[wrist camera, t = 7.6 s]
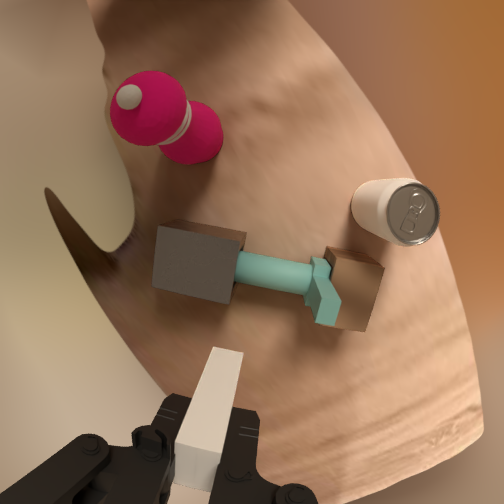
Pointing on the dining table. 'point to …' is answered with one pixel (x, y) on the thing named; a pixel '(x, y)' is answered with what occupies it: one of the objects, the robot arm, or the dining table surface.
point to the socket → (354, 286)
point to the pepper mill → (165, 118)
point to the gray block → (197, 260)
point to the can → (397, 210)
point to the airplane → (293, 281)
